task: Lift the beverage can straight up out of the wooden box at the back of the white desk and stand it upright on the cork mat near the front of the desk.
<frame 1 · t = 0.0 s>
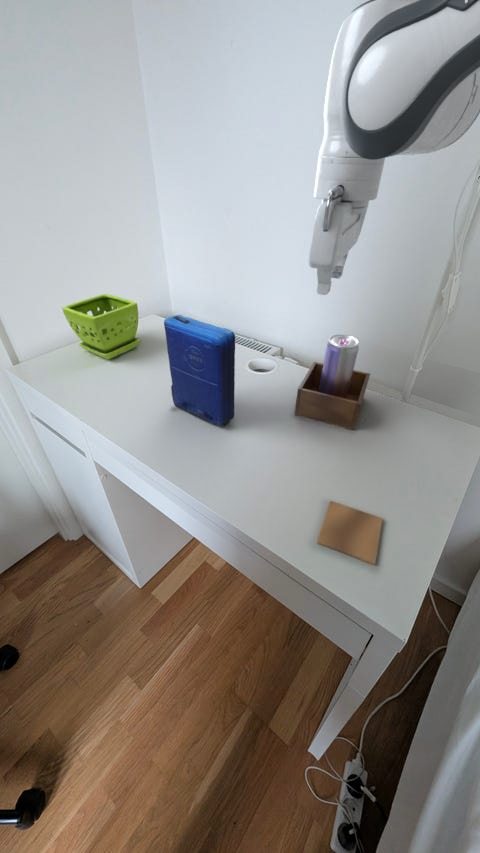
hand: (329, 284, 56), 26 cm above the table, tool pointing down, fingers open, 8 cm apart
flower pot: (111, 350, 95), on the table
blue plastic case: (203, 414, 72), on the table
wooden box: (329, 406, 74), on the table
cork mat: (350, 531, 50), on the table
beverage can: (330, 405, 74), resting on wooden box
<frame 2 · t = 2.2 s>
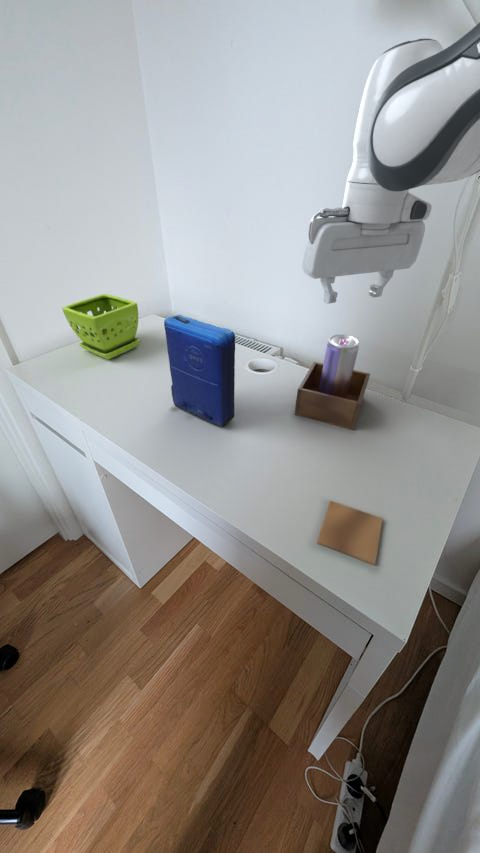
hand: (352, 299, 59), 23 cm above the table, tool pointing down, fingers open, 8 cm apart
nothing on the table moved.
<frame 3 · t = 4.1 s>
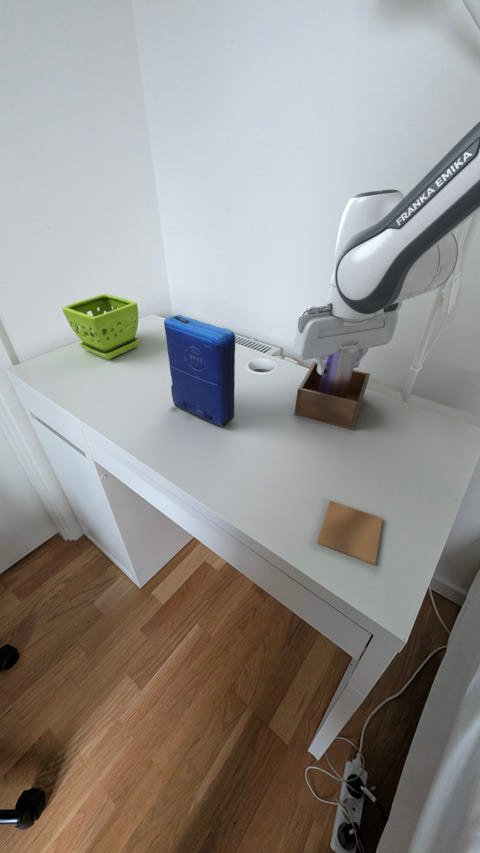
hand: (337, 369, 68), 9 cm above the table, tool pointing down, fingers closed on beverage can, 6 cm apart
beverage can: (330, 405, 74), resting on wooden box, touching gripper
everything else where it was.
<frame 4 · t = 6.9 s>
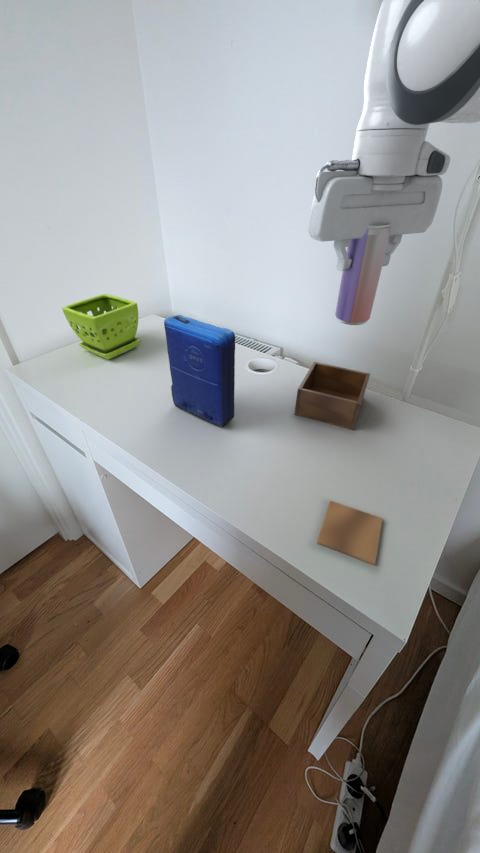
hand: (362, 267, 55), 29 cm above the table, tool pointing down, fingers closed on beverage can, 6 cm apart
beverage can: (351, 320, 60), point 20 cm above the table, touching gripper
everything else where it was.
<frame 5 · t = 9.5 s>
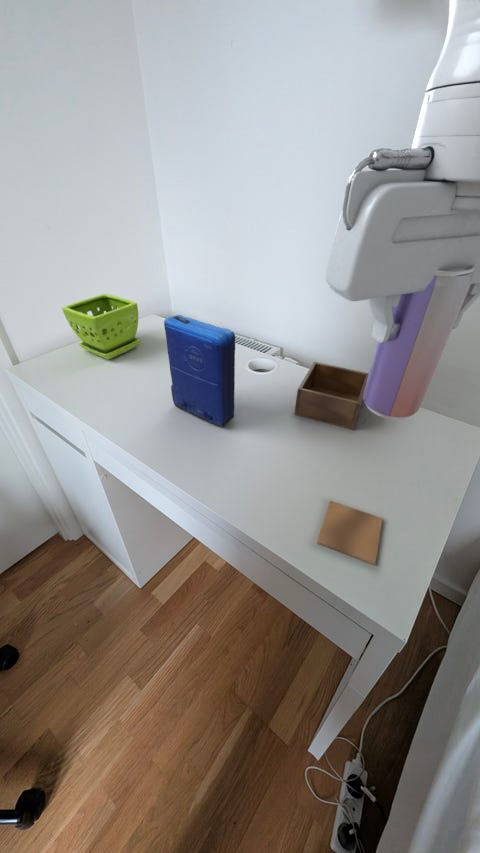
hand: (414, 333, 33), 30 cm above the table, tool pointing down, fingers closed on beverage can, 6 cm apart
beverage can: (388, 407, 38), point 21 cm above the table, touching gripper
everything else where it was.
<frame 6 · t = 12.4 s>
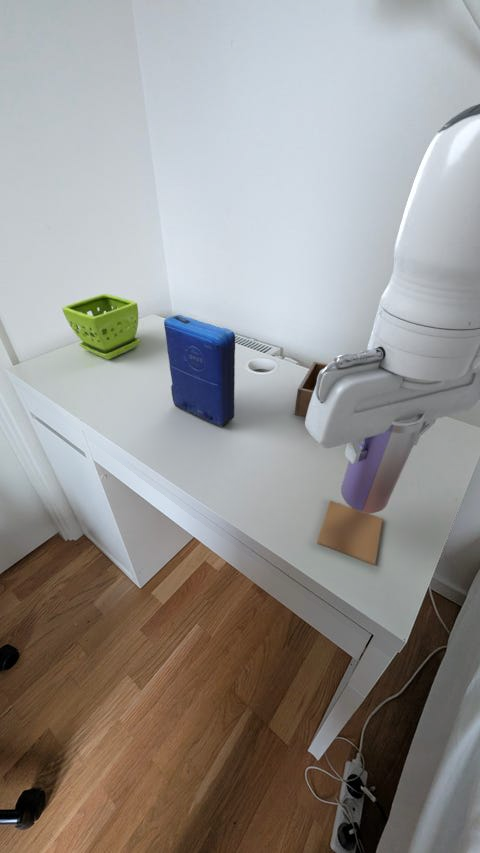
hand: (380, 450, 39), 17 cm above the table, tool pointing down, fingers closed on beverage can, 6 cm apart
beverage can: (362, 498, 45), point 8 cm above the table, touching gripper
everything else where it was.
when the fingers open (9 cm above the table, at t = 14.7 s): beverage can stays where it is, resting on cork mat.
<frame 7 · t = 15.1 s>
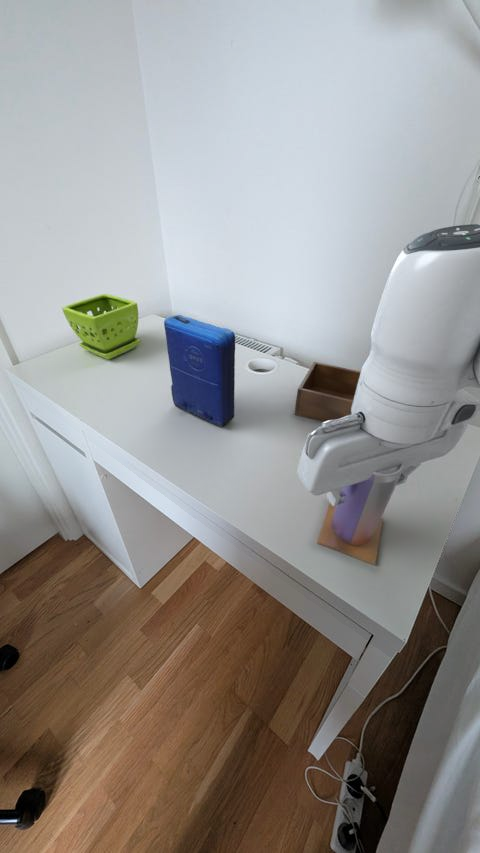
hand: (365, 490, 44), 9 cm above the table, tool pointing down, fingers open, 8 cm apart
beverage can: (351, 530, 50), resting on cork mat
everything else where it was.
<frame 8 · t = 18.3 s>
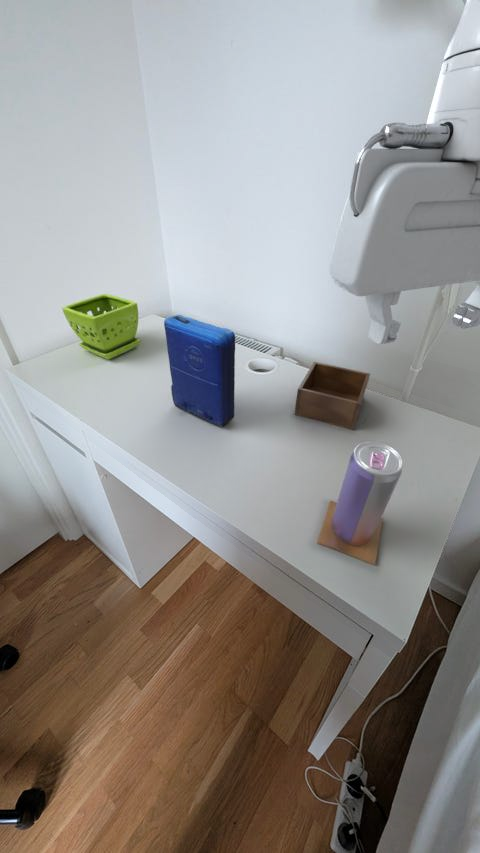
hand: (423, 332, 30), 31 cm above the table, tool pointing down, fingers open, 8 cm apart
nothing on the table moved.
at the end: beverage can 0.0 cm off-centre on the cork mat, point 0.3 cm above the cork mat's base; beverage can tilted 0°; beverage can touching cork mat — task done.
